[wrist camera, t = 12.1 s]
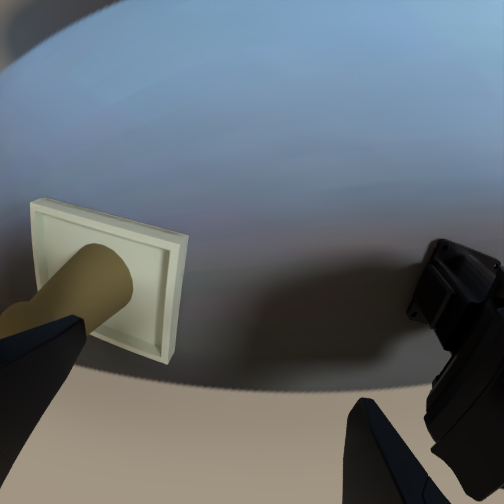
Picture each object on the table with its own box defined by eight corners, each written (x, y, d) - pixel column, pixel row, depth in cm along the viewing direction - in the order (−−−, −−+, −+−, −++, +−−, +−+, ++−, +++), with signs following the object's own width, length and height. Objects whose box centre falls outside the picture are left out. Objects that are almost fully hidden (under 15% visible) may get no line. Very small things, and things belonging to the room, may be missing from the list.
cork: (107, 320, 25) (36, 404, 15) (64, 267, 24) (-23, 335, 14) (147, 289, 23) (66, 386, 13) (98, 228, 22) (-8, 296, 12)
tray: (188, 235, 21) (179, 244, 20) (174, 351, 26) (167, 364, 24) (43, 196, 22) (30, 202, 20) (51, 302, 26) (41, 311, 25)
